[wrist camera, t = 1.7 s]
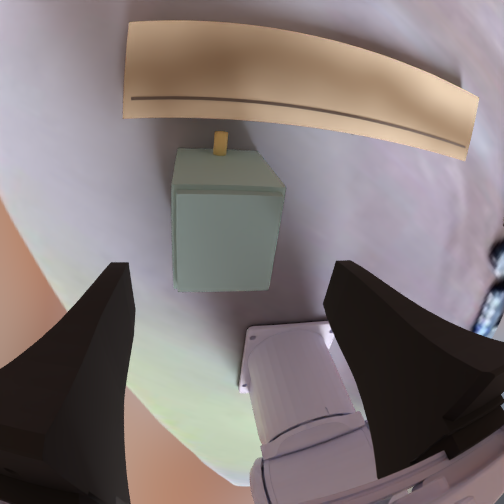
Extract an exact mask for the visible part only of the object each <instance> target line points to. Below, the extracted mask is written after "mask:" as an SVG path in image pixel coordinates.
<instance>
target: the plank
mask: <svg viewBox="0 0 504 504" xmlns="http://www.w3.org/2000/svg"><path fill="white" fill-rule="evenodd" d="M478 101H479V97H477V96H475V95H473V94H471V93H469V92H468V91H466V90H464V89H462V88H460V87H458V86H456V85H454V84H452V83H450V82H448V81H445V80H443V79H441V78H439V77H437V76H435V75H432V74H430V73H428V72H425V71H423V70H421V69H418V68H416V67H413V66H411V65H408V64H406V63H403V62H401V61H398V60H395V59H392V58H390V57H387V56H384V55H381V54H378V53H375V52H372V51H369V50H366V49H362V48H359V47H356V46H352V45H349V44H345V43H342V42H338V41H334V40H330V39H326V38H322V37H317V36H313V35H308V34H304V33H299V32H294V31H288V30H282V29H276V28H270V27H263V26H256V25H247V24H238V23H227V22H213V21H189V20H162V21H138V22H129V28H128V37H127V47H126V59H125V73H124V93H123V119H129V118H212V119H232V120H246V121H259V122H270V123H280V124H289V125H297V126H305V127H312V128H319V129H326V130H332V131H339V132H345V133H350V134H356V135H361V136H366V137H371V138H376V139H381V140H386V141H391V142H395V143H399V144H404V145H408V146H412V147H416V148H420V149H424V150H428V151H432V152H435V153H439V154H442V155H446V156H449V157H453V158H456V159H459V160H463V161H465V160H466V156H467V152H468V148H469V144H470V140H471V135H472V131H473V126H474V122H475V117H476V112H477V107H478Z"/></svg>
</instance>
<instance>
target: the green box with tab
mask: <svg viewBox="0 0 504 504" xmlns="http://www.w3.org/2000/svg"><path fill="white" fill-rule="evenodd" d="M227 141H228V132H225V131H215V134H214V147H213V149H201V148H178V150H177V155H176V161H175V166H174V172H173V178H172V184H171V218H172V261H173V284H174V289H178V292H225V291H262V290H268V288H269V286H270V280H271V274H272V269H273V263H274V257H275V251H276V246H277V240H278V234H279V228H280V222H281V216H282V210H283V204H284V198H285V191H286V187H285V185H284V184H283V183H282V182H281V180H280V179H279V178H278V176H277V175H276V174H275V173H274V171H273V170H272V169H271V168H270V166H269V165H268V164H267V163H266V161H265V160H264V159H263V158H262V156H261V155H260V154H259V153H258V151H249V150H230V149H227Z"/></svg>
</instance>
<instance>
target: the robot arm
mask: <svg viewBox="0 0 504 504" xmlns="http://www.w3.org/2000/svg"><path fill="white" fill-rule="evenodd" d="M323 306H324V309H325V312H326V316H327V319H328V321H320V322H308V323H296V324H282V325H266V326H252V327H249V328H248V329H247V332H246V339H245V346H244V353H243V360H242V367H241V374H240V381H239V388H238V389H239V392H240V393H249V394H250V399H251V403H252V408H253V413H254V417H255V422H256V426H257V430H258V435H259V439H260V441H261V443H262V445H261V446H260V447H261V451H262V456H263V457H260V458H257V459H256V460H255V462H254V464H253V466H252V468H251V471H250V487H251V492H252V496H253V499H254V503H255V504H494V503H495V502H496V501H497V500H498V499H499V498H500V496H501V495H502V494H503V493H504V410H503V409H502V407H501V406H500V405H502V404H503V403H504V399H503V397H502V396H501V394H502V393H503V392H504V342H501V341H498V340H494V339H490V338H487V337H484V336H482V335H479V334H476V333H473V332H471V331H468V330H466V329H463V328H461V327H459V326H457V325H455V324H452V323H450V322H448V321H446V320H444V319H442V318H440V317H438V316H437V315H435V314H433V313H431V312H429V311H427V310H426V309H424V308H422V307H421V306H419V305H417V304H416V303H414V302H413V301H411V300H410V299H408V298H406V297H405V296H403V295H402V294H400V293H399V292H397V291H396V290H395V289H393V288H392V287H390V286H389V285H387V284H386V283H384V282H383V281H382V280H380V279H379V278H377V277H376V276H374V275H373V274H372V273H370V272H369V271H367V270H366V269H364V268H363V267H361V266H359V265H358V264H356V263H354V262H352V261H351V260H348V261H336V263H335V266H334V270H333V273H332V276H331V280H330V283H329V286H328V289H327V293H326V296H325V299H324V302H323ZM135 310H136V309H135V303H134V297H133V291H132V284H131V277H130V270H129V262H111V263H110V264H109V265H108V266H107V268H106V269H105V270H104V271H103V272H102V273H101V274H100V276H99V277H98V278H97V279H96V280H95V282H94V283H93V284H92V285H91V286H90V288H89V289H88V290H87V291H86V292H85V293H84V294H83V296H82V297H81V298H80V299H79V300H78V301H77V303H76V304H75V305H74V306H73V307H72V308H71V309H70V310H69V311H68V312H67V313H66V314H65V315H64V317H63V318H62V319H61V320H60V321H59V322H58V323H57V324H56V325H55V326H54V327H53V328H52V329H50V330H49V331H48V332H47V333H46V334H45V335H44V336H43V337H42V338H40V339H39V340H38V341H37V342H36V343H34V344H33V345H32V346H31V347H29V348H28V349H27V350H26V351H24V352H23V353H22V354H21V355H19V356H18V357H17V358H15V359H14V360H13V361H11V362H10V363H9V364H7V365H6V366H4V367H3V368H1V369H0V504H131V503H130V496H129V489H128V481H127V473H126V461H125V445H124V396H125V395H124V394H125V387H126V380H127V373H128V367H129V361H130V355H131V349H132V343H133V337H134V325H135ZM251 336H252V337H251ZM334 336H335V338H336V340H337V342H338V344H339V347H340V349H341V351H342V353H343V355H344V357H345V359H346V361H347V363H348V365H349V367H350V370H351V372H352V374H353V376H354V379H355V381H356V384H357V387H358V390H359V393H360V396H361V399H362V402H363V406H364V410H365V413H366V417H367V420H366V421H364V419H363V417H362V415H361V412H360V411H357V412H356V411H355V408H354V406H353V404H352V402H351V399H350V397H349V395H348V392H347V390H346V388H345V386H344V383H343V381H342V379H341V377H340V374H339V372H338V370H337V368H336V365H335V363H334V361H333V359H332V357H331V354H330V352H329V348H330V346H331V343H332V341H333V338H334ZM413 486H414V487H413ZM411 487H413V489H412V492H411V493H409V494H408V491H407V489H409V488H411Z"/></svg>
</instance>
